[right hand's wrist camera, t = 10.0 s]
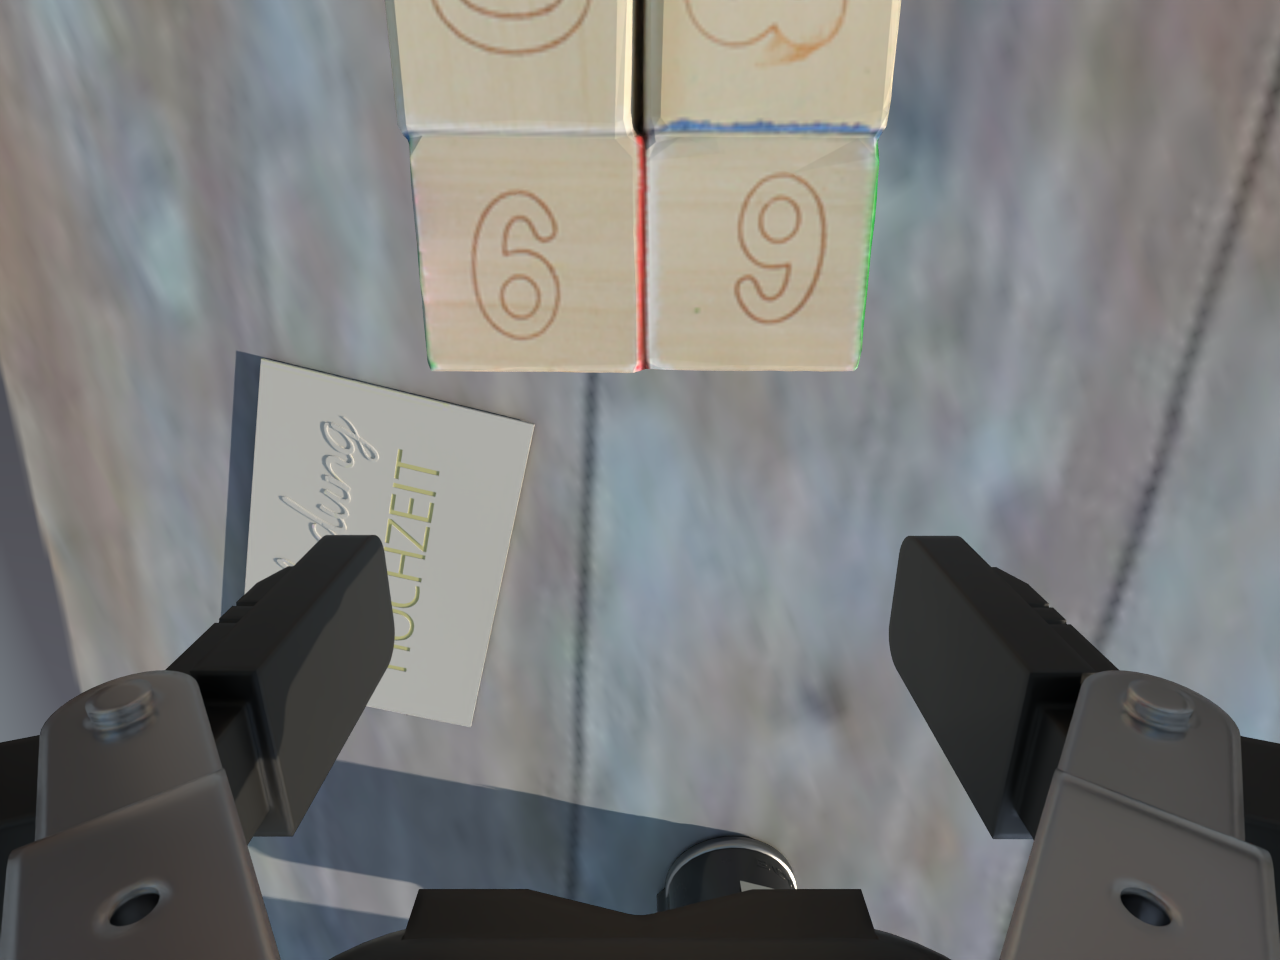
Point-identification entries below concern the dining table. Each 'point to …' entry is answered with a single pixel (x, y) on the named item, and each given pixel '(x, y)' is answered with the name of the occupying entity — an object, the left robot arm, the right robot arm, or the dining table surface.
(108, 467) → the dining table surface
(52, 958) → the right robot arm
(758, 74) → the stack of blocks
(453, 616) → the invitation card
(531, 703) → the dining table surface
